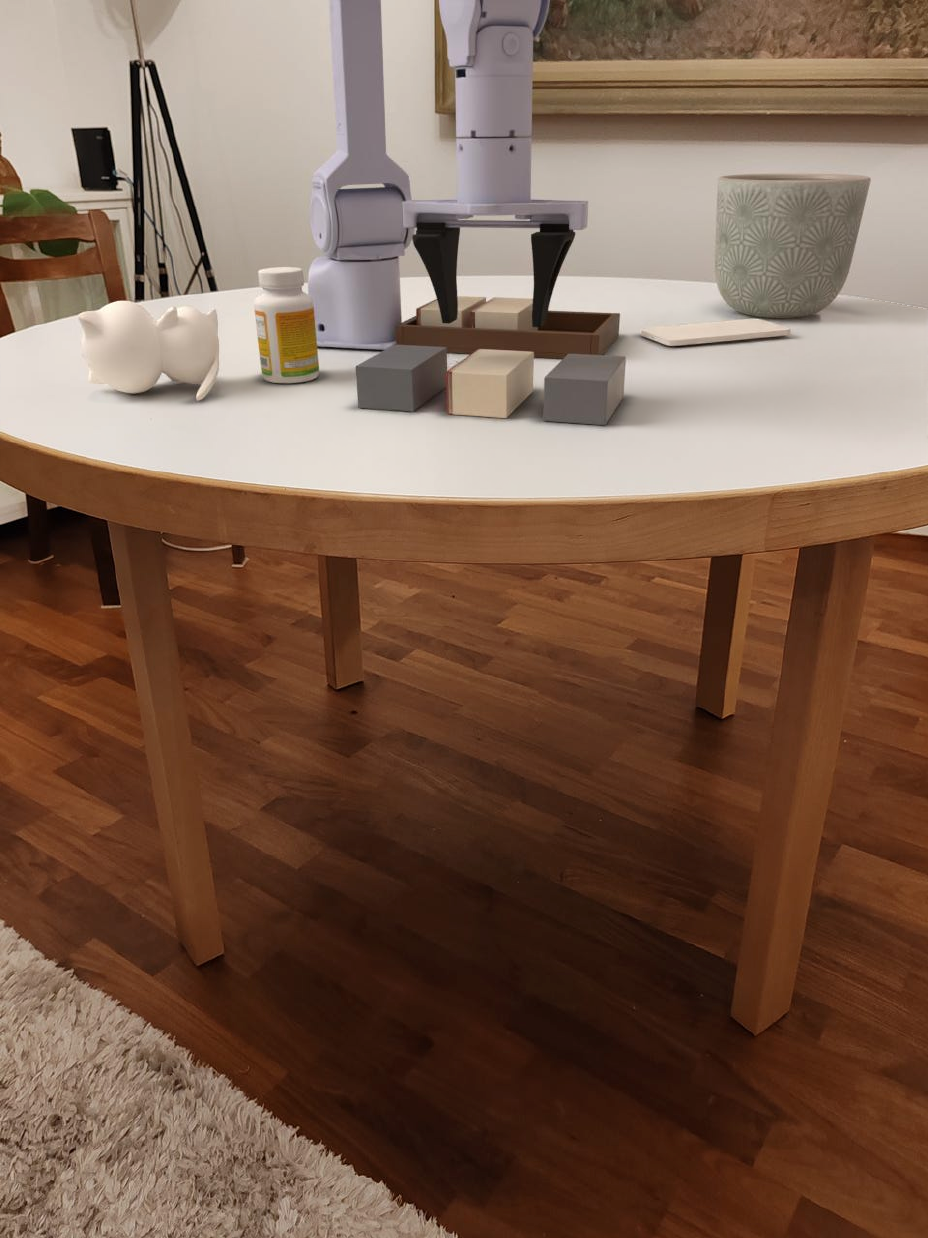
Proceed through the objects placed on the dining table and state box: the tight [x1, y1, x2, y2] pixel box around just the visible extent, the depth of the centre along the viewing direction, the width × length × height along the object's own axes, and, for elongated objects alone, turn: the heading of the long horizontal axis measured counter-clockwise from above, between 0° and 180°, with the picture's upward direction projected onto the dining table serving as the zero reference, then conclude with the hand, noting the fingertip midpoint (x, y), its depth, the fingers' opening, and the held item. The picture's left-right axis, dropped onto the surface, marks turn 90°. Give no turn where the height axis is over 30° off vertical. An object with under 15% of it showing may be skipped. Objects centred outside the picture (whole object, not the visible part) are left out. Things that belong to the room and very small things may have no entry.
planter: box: [714, 173, 872, 319], centre depth 114 cm, size 17×17×15 cm
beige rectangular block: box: [445, 349, 535, 419], centre depth 80 cm, size 5×9×4 cm, turn 163°
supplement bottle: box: [253, 266, 320, 384], centre depth 88 cm, size 5×5×10 cm
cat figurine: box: [77, 300, 220, 401], centre depth 84 cm, size 9×11×12 cm
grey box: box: [542, 354, 627, 426], centre depth 78 cm, size 5×9×4 cm, turn 163°
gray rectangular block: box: [355, 345, 448, 413], centre depth 82 cm, size 5×9×4 cm, turn 163°
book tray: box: [396, 310, 621, 360], centre depth 102 cm, size 22×13×2 cm, turn 73°
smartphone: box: [640, 318, 791, 347], centre depth 104 cm, size 7×1×15 cm
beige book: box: [415, 295, 487, 328], centre depth 104 cm, size 5×9×4 cm, turn 163°
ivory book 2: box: [470, 296, 538, 331], centre depth 102 cm, size 5×9×4 cm, turn 163°
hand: (493, 323), depth 78 cm, fingers open, 7 cm apart
